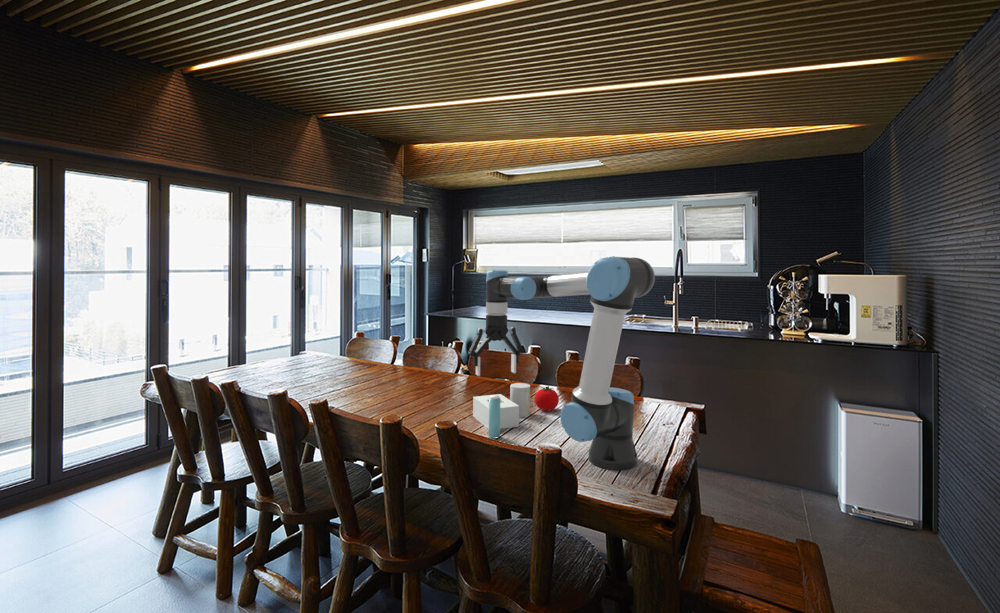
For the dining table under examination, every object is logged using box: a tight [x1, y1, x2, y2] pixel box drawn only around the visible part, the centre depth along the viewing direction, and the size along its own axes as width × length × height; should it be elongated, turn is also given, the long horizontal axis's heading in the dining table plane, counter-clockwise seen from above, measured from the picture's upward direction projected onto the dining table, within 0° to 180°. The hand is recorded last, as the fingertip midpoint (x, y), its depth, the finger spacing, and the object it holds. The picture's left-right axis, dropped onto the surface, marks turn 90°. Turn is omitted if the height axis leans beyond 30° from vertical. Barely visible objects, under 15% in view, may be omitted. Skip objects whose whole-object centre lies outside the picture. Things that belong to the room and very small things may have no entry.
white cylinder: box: [509, 382, 531, 418], centre depth 201 cm, size 8×8×12 cm
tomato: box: [534, 385, 560, 412], centre depth 208 cm, size 10×10×10 cm
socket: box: [472, 393, 520, 430], centre depth 192 cm, size 18×12×8 cm, turn 23°
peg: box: [488, 394, 501, 440], centre depth 174 cm, size 4×4×15 cm
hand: (495, 373), depth 174 cm, fingers open, 13 cm apart
